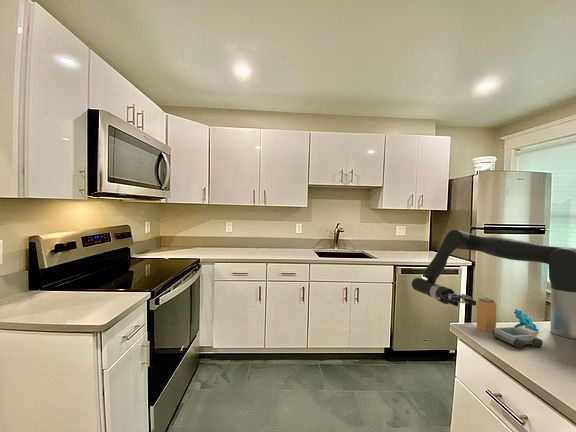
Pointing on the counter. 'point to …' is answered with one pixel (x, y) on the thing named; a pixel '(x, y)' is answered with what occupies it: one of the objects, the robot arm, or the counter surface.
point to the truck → (518, 336)
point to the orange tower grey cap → (486, 314)
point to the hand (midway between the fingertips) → (466, 303)
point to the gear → (524, 321)
